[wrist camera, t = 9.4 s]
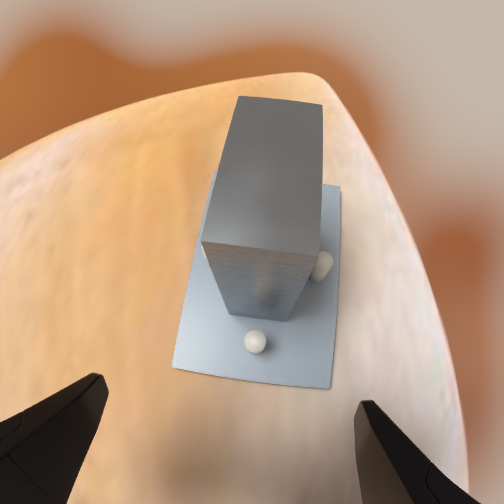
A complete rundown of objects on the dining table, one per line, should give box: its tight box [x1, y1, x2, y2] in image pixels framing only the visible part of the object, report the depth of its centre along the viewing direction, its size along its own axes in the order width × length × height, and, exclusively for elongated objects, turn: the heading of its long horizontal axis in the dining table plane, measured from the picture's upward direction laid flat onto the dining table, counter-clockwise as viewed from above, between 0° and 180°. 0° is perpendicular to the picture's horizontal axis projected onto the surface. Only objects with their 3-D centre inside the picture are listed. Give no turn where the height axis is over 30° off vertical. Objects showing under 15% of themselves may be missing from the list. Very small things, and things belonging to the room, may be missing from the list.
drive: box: [200, 96, 323, 322], centre depth 16 cm, size 7×4×11 cm, turn 172°
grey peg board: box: [172, 172, 340, 389], centre depth 20 cm, size 15×10×3 cm, turn 172°
